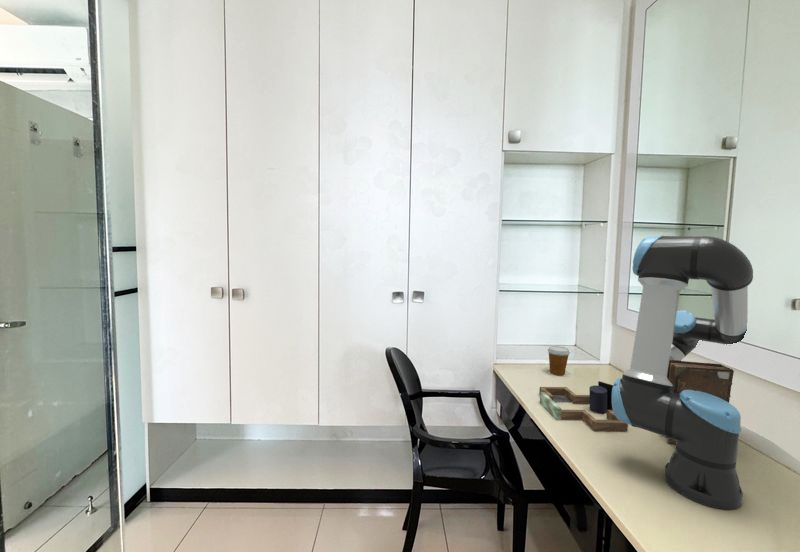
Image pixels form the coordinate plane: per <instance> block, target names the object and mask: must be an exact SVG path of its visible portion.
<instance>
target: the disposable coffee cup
mask: <svg viewBox="0 0 800 552" xmlns="http://www.w3.org/2000/svg"><path fill="white" fill-rule="evenodd" d="M547 352H548V363H549V373H550V374H551V375H553V376H557V377H559V376H560V377H562V376H565V375H564V374H565V373H566V369H567V364H568V359H569V355H570V354H571V353H570V349H569V348H567V347H564V346H559V345H552V346H548V349H547Z"/></svg>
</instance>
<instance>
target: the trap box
mask: <svg viewBox="0 0 800 552" xmlns="http://www.w3.org/2000/svg"><path fill="white" fill-rule="evenodd" d="M538 394H539V403H540V404H541V405H542V407H544V409H545V410H547V412H548V413H549V414H550V415H551V416H552V417H553V418H554V419H555V420H557V421H583V423H585V424H586V425H587V426H588V428H590V429H592V431H594V432H628V431H629V430H628V426H629V424H627V423H624V422H622V421H620V420H618V419H617V418H616V416H615V415H614V412H613V410H607V412H606V417H605V418H606V419H596V418H595V417H594V416H593V415H592V414H590V413H589V412H588V411H587V410H586V409H562V408H561V407H560V406H559V404H557V403H572V404H573V405H590V394H575V392H573V391H572V390H571V389H569V388H568V387H567V386H539V393H538Z"/></svg>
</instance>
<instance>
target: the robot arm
mask: <svg viewBox="0 0 800 552" xmlns="http://www.w3.org/2000/svg"><path fill="white" fill-rule="evenodd" d="M753 269H754V268H753V265H752V263H751V260H750V259H749V257H747V255H746V254H745V253H744V252H743V251H742V250H741V249H740V248H739V247H737V246H736V245H735V244H732V243H731V242H729V241H727V240H725V239H723V238H720V237H715V236H704V235H703V236H692V235H691V236H685V235H683V236H681V235H660V236H657V235H656V236H647V237H645V238H643V239H642V240H641V241H640V242H639V244H638V245H637V247H636V249H635V252H634V255H633V259H632V273H633V274H634V275H636V276H637V277H638V278H637V281H638V283H639V284H640V285H641V286H642V293H641V297H640V303H639V304H640V305H639V311H638V316H637V323H636V329H635V335H634V342H633V348H632V356H631V361H630V367H629V369H628V370H626V371H623V372H622V376H621V377H620V378H616V379H615V380H614V382H613V385H614V386H613V388H612V408H613V412H614V415H615V416H616V418H617V419H618V420H620V421H622V422H624V423H627V424H628V426H629V425H630V426H631V427H634V428H639V429H642V430H643V431H644V430H645V431H647V432H650V433H652V434H653V433H654V434H656V435H659V436H661V437H664V438H665V437H666V438H667V439H668V438H671V439H674V440H676V444H675V449H674V451H673V453H672V454H671V456H670V459H669V461H668V462H667V463H666V465H665V467H664V475H663V478H664V480H665V481H666V483H667V485H669V486H670V487H671V488H672V489H673V490H674V491H676V492H677V493H679V494H681V495H682V496H684V497H685V498H688V499H689V500H691V501H694V502H696V503H699V504H702V505H704V506H707V507H711V508H716V509H722V510H735V509H739V508H740V507H741V506H742V504H743V497H744V494H743V490H742V487H741V485H740V480H739V475H738V473H737V469H736V468H737V460H738V459H737V457H738V450H739V449H738V448H739V440H740V434H741V432H742V427H741V423H742V422H741V421H742V420H741V416H742V415H741V413H740V411H739V410H738V409H737V408H736V407H735V405H733V404H731V403H730V402H729V403H728V402H727V401H725V400H723V399H721V398H718V397H716V396H713V395H711V394H708V393H704V392H701V391H694V390H683V391H682V392H681V393H680V394H677V393H673V392H672V389H673V384H672V383H671V382H670V381H669V380H668V378H667V374H668V367H669V361H670V360H679V361H683V359H684V358H685V357H686V356H687V355H689V354H690V353H691V352H692V351H693V350H694V349H695V348H696V345H697V343H698V341H699V340H702V342H709V343H714V344H715V343H716V344H720V345H725V344H726V346H728V345H727V344H733V343H737V342H739V341H741V340H742V339H743V338H744V335H745V333H746V331H747V323H748V314H749V313H748V311H749V309H748V308H749V307H748V302H749V301H748V293H749V292H748V291H749V290H748V289H749V288H748V287H749V286H750V285H751V284H752V282H753V280H754V270H753ZM689 280H703V281H706V283H707V285H708V286H710V288H711V299H712V307H713V317H714V319H712V318H705V317H704V318H703V317H698V316H697V317H695V315H694V314H693V313H691V312H690V311H687V310H685V309H682V310H678V307H679V299H680V293H681V291H683V290H684V289H685V288H687V287H688V286H689Z"/></svg>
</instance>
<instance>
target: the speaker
mask: <svg viewBox="0 0 800 552" xmlns="http://www.w3.org/2000/svg"><path fill="white" fill-rule="evenodd" d="M613 386H614V384H609V383H607V382H604V381H603V382H602V381H600V380H598V382H597V385H591V386H589V395H590V404H589V409H590V411H592V412H593V413H596V414H605V413H607V410H613V408H612V388H613Z"/></svg>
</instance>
